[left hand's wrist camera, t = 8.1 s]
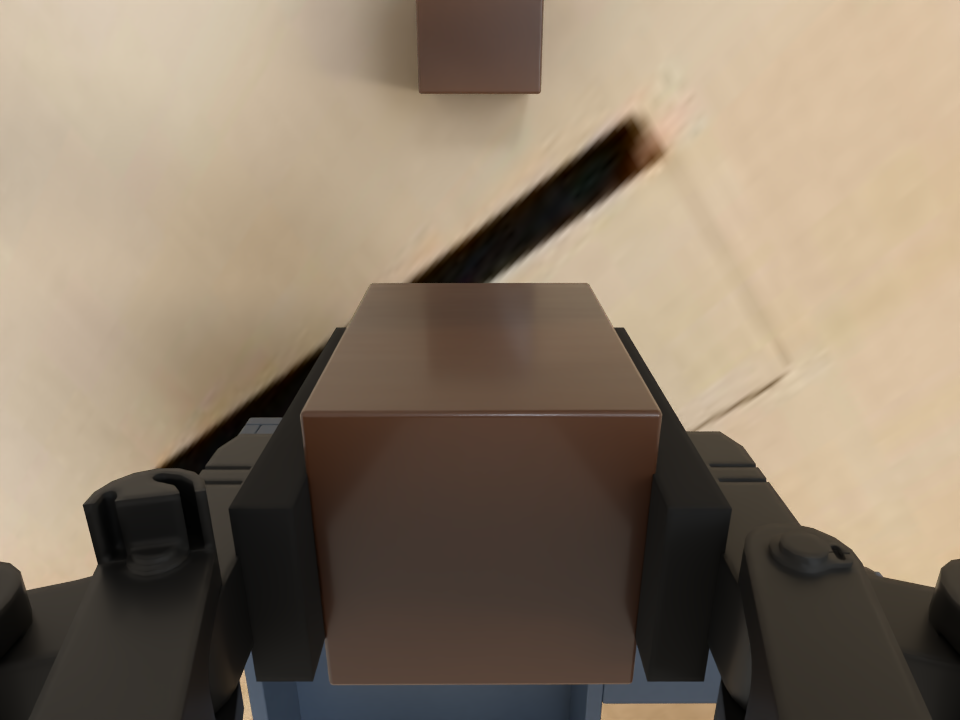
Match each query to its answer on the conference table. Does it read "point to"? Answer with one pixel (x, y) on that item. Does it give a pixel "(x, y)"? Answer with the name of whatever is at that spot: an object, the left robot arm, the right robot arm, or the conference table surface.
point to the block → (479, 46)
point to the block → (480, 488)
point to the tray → (458, 689)
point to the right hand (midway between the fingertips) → (829, 608)
